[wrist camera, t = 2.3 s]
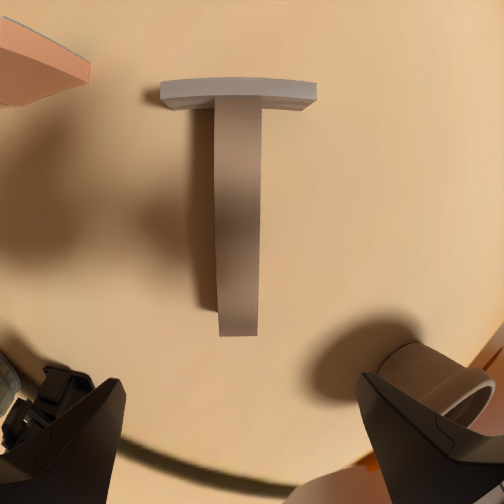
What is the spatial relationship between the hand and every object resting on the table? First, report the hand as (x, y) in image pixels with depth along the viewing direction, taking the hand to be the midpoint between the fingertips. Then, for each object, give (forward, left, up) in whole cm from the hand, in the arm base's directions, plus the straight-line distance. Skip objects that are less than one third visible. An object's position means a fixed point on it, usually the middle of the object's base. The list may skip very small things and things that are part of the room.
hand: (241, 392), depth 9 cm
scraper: (+4, 0, -10) cm, 11 cm away
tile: (+15, +14, -10) cm, 23 cm away
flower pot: (-11, -17, -11) cm, 23 cm away
